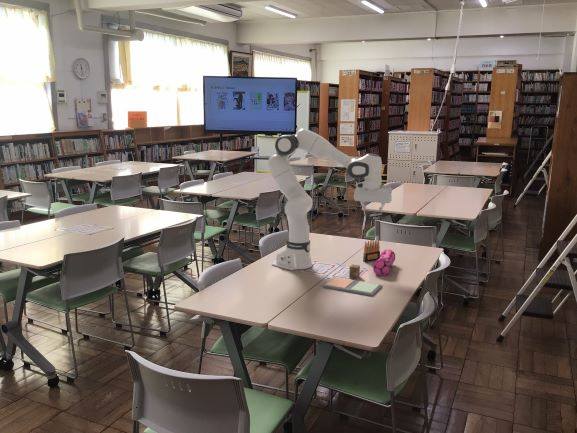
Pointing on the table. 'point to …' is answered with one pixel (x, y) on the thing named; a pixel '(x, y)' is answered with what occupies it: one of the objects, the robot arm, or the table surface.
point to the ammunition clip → (371, 251)
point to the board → (352, 286)
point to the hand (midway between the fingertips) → (372, 210)
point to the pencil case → (384, 262)
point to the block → (354, 271)
